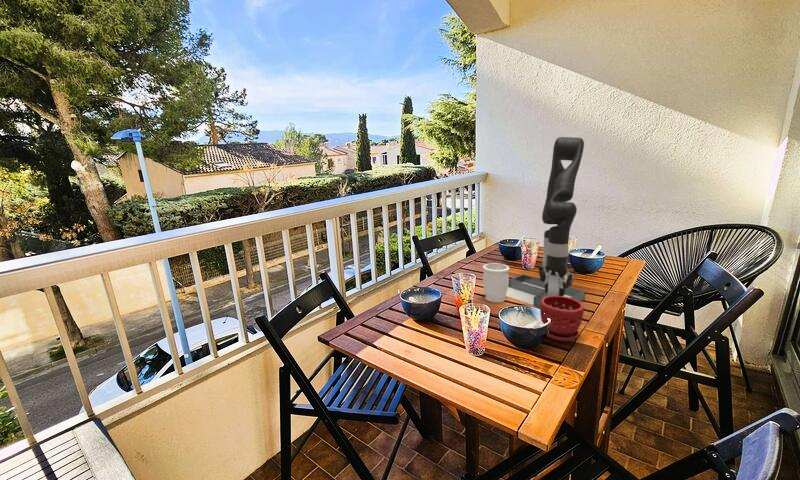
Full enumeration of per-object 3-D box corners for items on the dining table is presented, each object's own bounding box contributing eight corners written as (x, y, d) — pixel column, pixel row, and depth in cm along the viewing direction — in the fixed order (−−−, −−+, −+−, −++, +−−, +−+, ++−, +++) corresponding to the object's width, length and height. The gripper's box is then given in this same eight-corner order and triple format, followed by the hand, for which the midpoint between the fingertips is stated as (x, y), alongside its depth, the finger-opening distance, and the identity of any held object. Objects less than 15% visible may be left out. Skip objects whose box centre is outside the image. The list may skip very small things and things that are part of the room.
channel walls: (522, 280, 163) (522, 273, 163) (584, 299, 141) (585, 291, 140) (496, 292, 152) (496, 284, 151) (559, 314, 129) (560, 305, 128)
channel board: (522, 282, 164) (522, 280, 163) (584, 300, 141) (584, 299, 141) (496, 293, 152) (496, 292, 152) (559, 316, 130) (559, 314, 129)
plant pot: (586, 345, 110) (589, 311, 107) (542, 343, 112) (545, 309, 109) (574, 326, 122) (577, 295, 119) (535, 323, 125) (537, 293, 122)
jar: (479, 302, 144) (480, 269, 140) (485, 293, 153) (486, 261, 149) (505, 306, 139) (506, 272, 135) (510, 297, 148) (511, 264, 144)
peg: (551, 299, 140) (553, 271, 137) (563, 303, 136) (565, 274, 133) (544, 302, 137) (546, 274, 134) (556, 306, 133) (558, 278, 130)
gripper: (581, 255, 128) (577, 297, 132) (545, 248, 139) (542, 286, 143) (571, 259, 124) (567, 302, 128) (534, 251, 135) (532, 291, 139)
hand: (554, 294), depth 136 cm, fingers closed on peg, 5 cm apart
